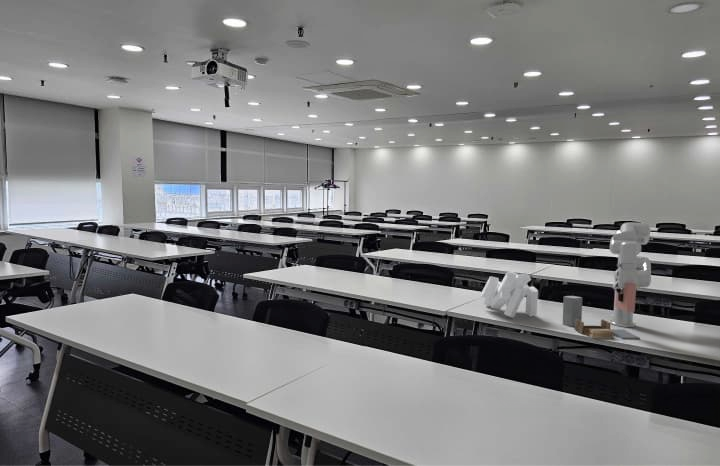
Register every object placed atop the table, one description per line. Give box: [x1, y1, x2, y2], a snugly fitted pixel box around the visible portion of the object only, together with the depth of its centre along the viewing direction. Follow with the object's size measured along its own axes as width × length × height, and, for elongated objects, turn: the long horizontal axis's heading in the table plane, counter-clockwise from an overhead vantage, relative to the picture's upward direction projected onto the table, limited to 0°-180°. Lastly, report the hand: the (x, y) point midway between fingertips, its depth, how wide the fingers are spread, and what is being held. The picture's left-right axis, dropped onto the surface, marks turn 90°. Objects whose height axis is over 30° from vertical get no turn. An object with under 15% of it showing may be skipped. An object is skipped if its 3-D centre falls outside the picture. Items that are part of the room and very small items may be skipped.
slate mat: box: [610, 328, 641, 340], centre depth 232 cm, size 14×9×1 cm, turn 1°
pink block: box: [615, 284, 637, 313], centre depth 230 cm, size 4×10×14 cm, turn 1°
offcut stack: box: [587, 329, 614, 339], centre depth 228 cm, size 4×11×4 cm, turn 91°
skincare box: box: [562, 295, 583, 327], centre depth 249 cm, size 8×7×16 cm
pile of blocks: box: [481, 271, 539, 319], centre depth 269 cm, size 35×30×35 cm
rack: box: [574, 319, 612, 335], centre depth 236 cm, size 7×15×6 cm, turn 91°
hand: (625, 301), depth 230 cm, fingers closed on pink block, 4 cm apart
